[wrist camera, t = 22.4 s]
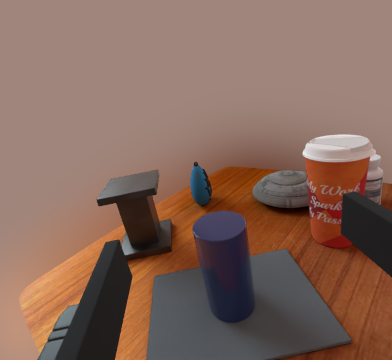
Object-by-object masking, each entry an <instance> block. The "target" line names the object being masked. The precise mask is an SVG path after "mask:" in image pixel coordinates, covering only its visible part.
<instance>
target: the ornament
mask: <svg viewBox="0 0 392 360" xmlns="http://www.w3.org/2000/svg"><path fill="white" fill-rule="evenodd" d="M195 163H196V164H195ZM195 163H194V167H193V169H192V173H191V193H192V196H193V198H194V200H195V202H196V203H197V204H199V205H205V204H206V203H207V202H208V201H209V200H211V199H210V196H212V189H211V184H210V181H209V180H208V176H207V174H206V172H205V170H204V169H202V168H201V167H200V166H199V165H198V163H197V162H195Z"/></svg>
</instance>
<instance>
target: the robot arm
mask: <svg viewBox="0 0 392 360" xmlns="http://www.w3.org/2000/svg"><path fill="white" fill-rule="evenodd" d="M341 234H342V235H343V236H344V237H345V238H347V239H348V240H349V241H350V242H351V243H352V244H354V245H355V246H356V247H357V248H358V249H359V250H361V251H362V252H363V253H364V254H365V255H366V256H368V257H369V258H370V259H371V260H372V261H373V262H375V263H376V264H377V265H378V266H379V267H380V268H382V269H383V270H384V271H385V272H386V273H387V274H389V275H390V276H391V277H392V211H390V210H389V209H387V208H385V207H383V206H381V205H380V204H378V203H376V202H374V201H372V200H371V199H369V198H367V197H365V196H363V195H362V194H360V193H358V192H356V191H354V192H349V193H344V194H343V199H342V216H341ZM131 281H132V274H131V271H130V269H129V266H128V263H127V260H126V257H125V255H124V252H123V249H122V246H121V243H120V241H119V240H114V241H110V242H106V243H105V245H104V248H103V250H102V252H101V254H100V257H99V259H98V261H97V264H96V266H95V268H94V270H93V273H92V275H91V277H90V280H89V282H88V284H87V287H86V289H85V291H84V293H83V296H82V298H81V300H80V303H79V304H77V305H72V306H68V307H67V308H66V310H65V311H64V312H63V313H62V314H61V315H60V316H59V318H58V320H57V322H56V324H55V326H54V328H53V332H51V334H50V336H49V338H48V342H46V344H45V346H44V348H43V350H42V352H41V354H40V356H39V358H38V360H115V356H116V351H117V347H118V342H119V337H120V332H121V328H122V323H123V318H124V314H125V309H126V304H127V300H128V295H129V290H130V286H131Z"/></svg>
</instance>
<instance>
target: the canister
mask: <svg viewBox="0 0 392 360" xmlns="http://www.w3.org/2000/svg"><path fill="white" fill-rule="evenodd" d="M193 235H194V239H195V244H196V249H197V253H198V258H199V262H200V267H201V271H202V276H203V280H204V285H205V289H206V294H207V299H208V303H209V307H210V310H211V312H212V314H213V315H214V316H215V317H216V318H218V319H219V320H221V321H224V322H229V323H236V322H240V321H243V320H245V319H246V318H248V317H249V316H250V315H251V314H252V312H253V311H254V308H255V304H256V301H255V292H254V284H253V276H252V268H251V259H250V251H249V243H248V234H247V226H246V220H245V219H244V217H243V216H242V215H240V214H238V213H235V212H232V211H216V212H212V213H208V214H206V215H204V216H202V217H200V218H199V219H198V220H197V221H196V222H195V223H194V225H193Z"/></svg>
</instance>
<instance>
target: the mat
mask: <svg viewBox="0 0 392 360" xmlns="http://www.w3.org/2000/svg"><path fill="white" fill-rule="evenodd" d="M250 259H251V268H252V276H253V284H254V292H255V301H256V304H255V308H254V311H253V312H252V314H251V315H250V316H249V317H248V318H246V319H245V320H243V321H240V322H236V323H229V322H224V321H221V320H219V319H218V318H216V317H215V316H214V315H213V314H212V312H211V310H210V307H209V303H208V299H207V294H206V289H205V285H204V280H203V276H202V271H201V267H197V268H192V269H187V270H182V271H178V272H173V273H168V274H164V275H159V276H155V277H154V287H153V298H152V308H151V318H150V329H149V339H148V349H147V359H146V360H276V359H280V358H285V357H289V356H294V355H298V354H303V353H307V352H312V351H316V350H321V349H325V348H330V347H334V346H339V345H343V344H348V343H351V342H352V340H351V338H350V337H349V336H348V334H347V333H346V331H345V330H344V329H343V327H342V326H341V325H340V323H339V322H338V320H337V319H336V318H335V316H334V315H333V313H332V312H331V311H330V309H329V308H328V306H327V305H326V304H325V302H324V301H323V299H322V298H321V297H320V295H319V294H318V292H317V291H316V290H315V288H314V287H313V285H312V284H311V283H310V281H309V280H308V279H307V277H306V276H305V274H304V273H303V272H302V270H301V269H300V267H299V266H298V265H297V263H296V262H295V260H294V259H293V258H292V256H291V255H290V253H289V252H288V251H287V249H281V250H277V251H272V252H267V253H263V254H258V255H253V256H250Z"/></svg>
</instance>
